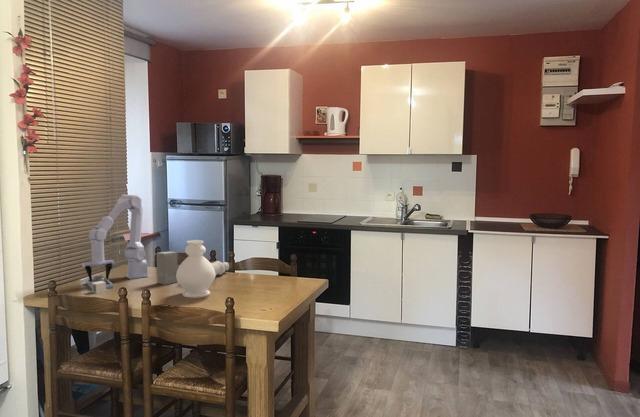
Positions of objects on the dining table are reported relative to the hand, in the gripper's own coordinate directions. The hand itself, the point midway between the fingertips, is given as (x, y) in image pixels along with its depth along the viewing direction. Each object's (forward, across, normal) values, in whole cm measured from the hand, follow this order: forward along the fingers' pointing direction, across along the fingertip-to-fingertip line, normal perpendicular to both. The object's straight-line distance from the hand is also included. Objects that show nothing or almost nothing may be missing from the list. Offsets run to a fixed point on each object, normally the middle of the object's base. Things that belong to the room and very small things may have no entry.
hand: (99, 279), depth 255 cm
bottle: (+3, +52, -16) cm, 54 cm away
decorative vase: (+3, +34, -42) cm, 54 cm away
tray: (+3, 0, 0) cm, 3 cm away
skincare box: (+3, +30, -13) cm, 33 cm away
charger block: (+3, -2, -12) cm, 13 cm away
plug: (+2, 0, 0) cm, 2 cm away
